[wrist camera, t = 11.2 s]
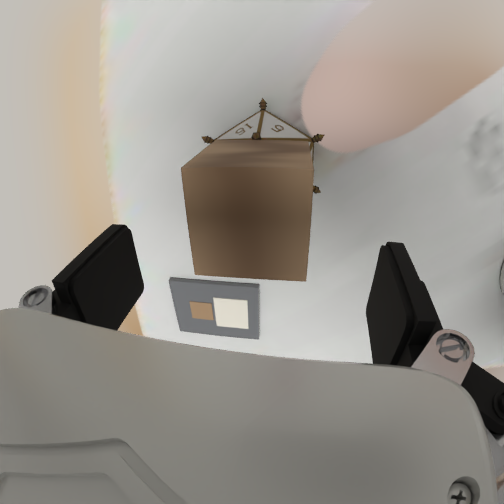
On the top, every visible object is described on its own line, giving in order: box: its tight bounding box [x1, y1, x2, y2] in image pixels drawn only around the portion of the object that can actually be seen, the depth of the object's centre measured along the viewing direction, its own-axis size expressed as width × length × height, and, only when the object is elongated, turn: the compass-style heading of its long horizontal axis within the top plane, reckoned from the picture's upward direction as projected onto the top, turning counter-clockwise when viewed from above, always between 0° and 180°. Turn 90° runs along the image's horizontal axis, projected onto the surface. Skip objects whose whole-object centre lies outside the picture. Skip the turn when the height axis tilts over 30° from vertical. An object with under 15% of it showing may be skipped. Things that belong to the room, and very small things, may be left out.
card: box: [169, 278, 259, 339], centre depth 35 cm, size 10×8×1 cm
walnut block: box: [181, 140, 314, 281], centre depth 16 cm, size 6×6×6 cm
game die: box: [202, 98, 324, 193], centre depth 22 cm, size 9×8×10 cm
